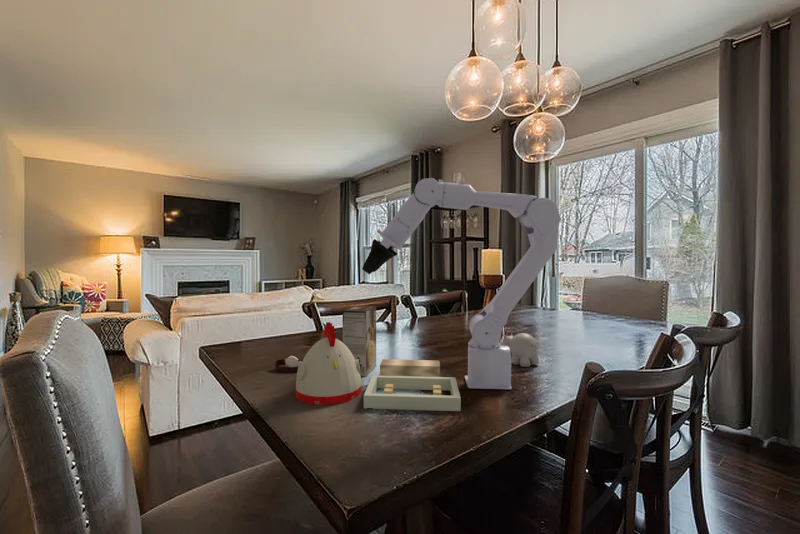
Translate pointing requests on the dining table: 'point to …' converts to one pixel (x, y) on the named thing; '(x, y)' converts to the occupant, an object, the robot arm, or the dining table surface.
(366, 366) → the coffee box
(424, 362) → the board
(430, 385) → the peg frame
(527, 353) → the round bodied animal figurine
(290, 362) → the watch
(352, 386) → the kitchen timer
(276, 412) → the dining table surface
